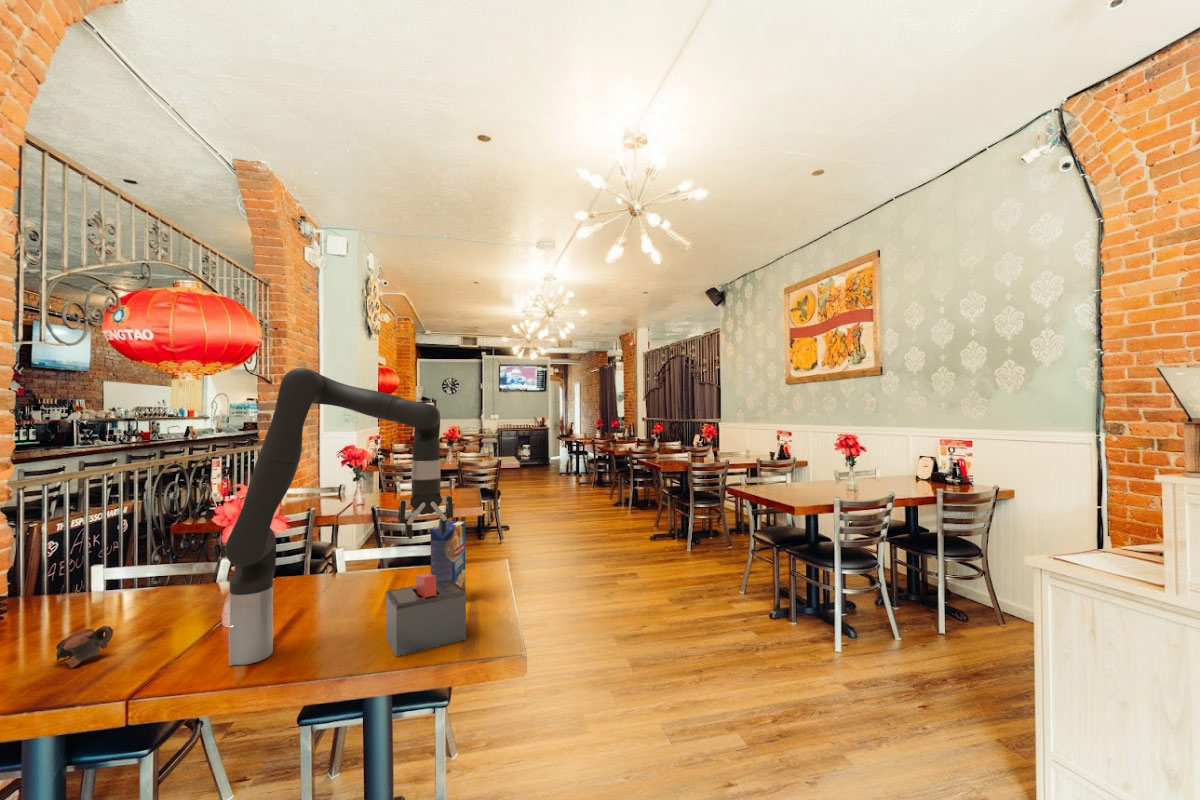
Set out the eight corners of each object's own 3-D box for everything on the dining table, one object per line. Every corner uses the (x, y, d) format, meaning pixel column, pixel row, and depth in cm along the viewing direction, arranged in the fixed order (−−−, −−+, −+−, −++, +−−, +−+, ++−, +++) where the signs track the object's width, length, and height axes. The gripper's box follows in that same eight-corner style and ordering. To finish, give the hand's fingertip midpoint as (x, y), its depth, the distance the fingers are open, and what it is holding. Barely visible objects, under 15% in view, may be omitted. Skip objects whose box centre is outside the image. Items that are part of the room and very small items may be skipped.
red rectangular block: (424, 577, 142) (415, 575, 149) (425, 597, 141) (416, 593, 148) (435, 575, 143) (426, 573, 151) (436, 595, 143) (427, 591, 150)
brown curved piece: (55, 678, 128) (40, 651, 130) (83, 678, 137) (69, 652, 139) (109, 640, 133) (94, 614, 135) (133, 643, 141) (119, 618, 144)
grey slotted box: (396, 657, 136) (396, 605, 136) (386, 638, 147) (386, 591, 147) (465, 640, 145) (465, 592, 145) (451, 624, 156) (451, 579, 156)
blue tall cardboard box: (453, 604, 172) (452, 529, 172) (430, 603, 173) (430, 529, 173) (465, 591, 184) (465, 521, 184) (444, 591, 185) (444, 521, 185)
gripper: (402, 480, 140) (402, 542, 139) (456, 476, 147) (456, 535, 147) (395, 477, 146) (395, 536, 146) (447, 473, 154) (447, 530, 153)
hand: (426, 536), depth 146 cm, fingers open, 8 cm apart
